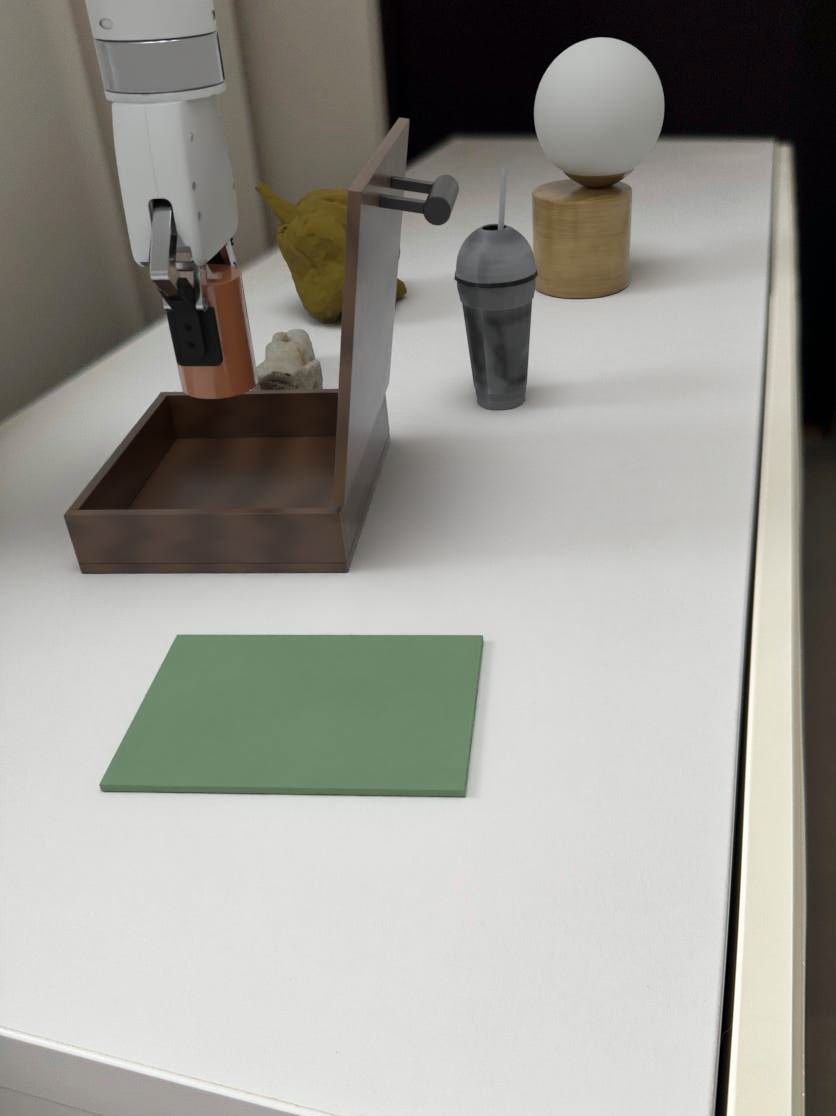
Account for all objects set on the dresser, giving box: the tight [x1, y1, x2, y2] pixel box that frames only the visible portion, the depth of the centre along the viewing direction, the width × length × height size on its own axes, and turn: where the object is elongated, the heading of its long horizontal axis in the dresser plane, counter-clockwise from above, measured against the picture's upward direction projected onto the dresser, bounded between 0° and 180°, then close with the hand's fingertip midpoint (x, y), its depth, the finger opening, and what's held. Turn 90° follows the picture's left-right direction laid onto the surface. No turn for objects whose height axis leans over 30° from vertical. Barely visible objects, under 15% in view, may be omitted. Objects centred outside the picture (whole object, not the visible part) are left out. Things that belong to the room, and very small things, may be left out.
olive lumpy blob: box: [254, 180, 408, 323], centre depth 117 cm, size 14×14×14 cm
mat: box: [99, 634, 484, 797], centre depth 62 cm, size 20×14×1 cm
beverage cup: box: [454, 166, 538, 411], centre depth 92 cm, size 7×7×20 cm
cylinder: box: [165, 264, 258, 399], centre depth 76 cm, size 6×6×8 cm
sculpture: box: [251, 328, 324, 390], centre depth 101 cm, size 7×5×15 cm
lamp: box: [531, 36, 665, 299], centre depth 118 cm, size 15×14×25 cm
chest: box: [63, 388, 391, 574], centre depth 83 cm, size 20×22×5 cm
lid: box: [333, 117, 460, 507], centre depth 74 cm, size 20×22×5 cm
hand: (213, 345), depth 77 cm, fingers closed on cylinder, 5 cm apart
